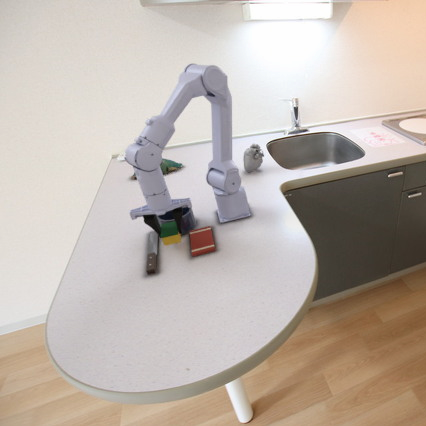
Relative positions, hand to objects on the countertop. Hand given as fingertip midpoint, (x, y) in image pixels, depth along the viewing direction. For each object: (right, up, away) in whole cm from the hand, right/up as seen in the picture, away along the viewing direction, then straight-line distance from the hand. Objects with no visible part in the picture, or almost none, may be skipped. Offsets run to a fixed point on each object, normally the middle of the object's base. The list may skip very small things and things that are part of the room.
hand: (171, 233), depth 85 cm
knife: (-5, -4, +1) cm, 7 cm away
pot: (-2, +2, +10) cm, 11 cm away
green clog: (-27, +23, +46) cm, 58 cm away
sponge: (0, -1, +1) cm, 1 cm away
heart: (+13, +24, +44) cm, 52 cm away
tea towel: (+7, -2, +4) cm, 8 cm away
